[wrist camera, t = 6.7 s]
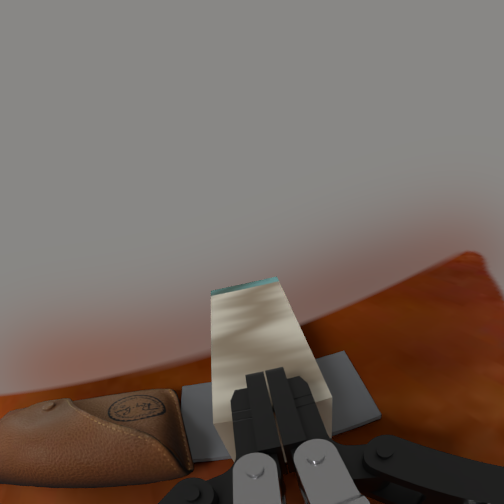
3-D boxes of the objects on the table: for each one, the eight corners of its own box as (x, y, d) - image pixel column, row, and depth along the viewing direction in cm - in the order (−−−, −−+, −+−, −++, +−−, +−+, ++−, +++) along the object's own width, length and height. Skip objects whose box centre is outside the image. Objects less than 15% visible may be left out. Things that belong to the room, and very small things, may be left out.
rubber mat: (180, 463, 13) (177, 460, 13) (184, 389, 19) (182, 386, 19) (380, 418, 14) (381, 414, 14) (343, 354, 20) (344, 350, 20)
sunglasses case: (175, 380, 19) (143, 348, 14) (207, 470, 15) (182, 478, 10) (4, 414, 15) (-48, 390, 10) (17, 486, 11) (-38, 477, 6)
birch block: (213, 423, 10) (211, 290, 22) (239, 470, 12) (226, 342, 23) (332, 397, 11) (276, 276, 22) (331, 450, 12) (285, 329, 24)
